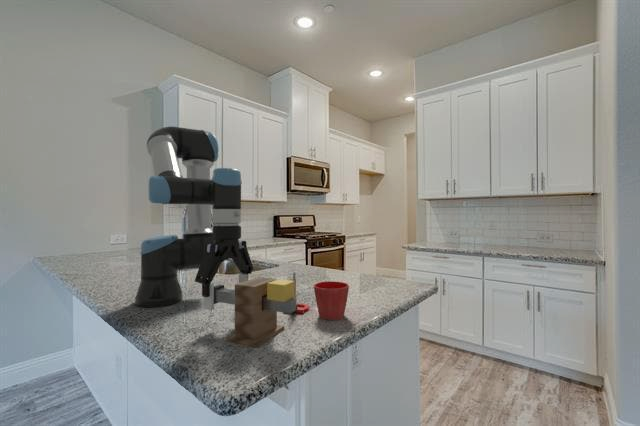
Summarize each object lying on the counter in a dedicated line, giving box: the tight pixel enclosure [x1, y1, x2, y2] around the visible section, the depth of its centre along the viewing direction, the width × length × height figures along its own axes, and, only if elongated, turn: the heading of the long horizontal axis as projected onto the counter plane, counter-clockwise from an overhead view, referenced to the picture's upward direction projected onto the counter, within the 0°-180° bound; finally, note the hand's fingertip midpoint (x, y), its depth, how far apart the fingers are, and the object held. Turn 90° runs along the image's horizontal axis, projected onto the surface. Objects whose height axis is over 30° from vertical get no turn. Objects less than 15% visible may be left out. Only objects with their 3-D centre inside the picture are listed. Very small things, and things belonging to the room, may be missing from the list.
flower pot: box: [313, 280, 350, 321], centre depth 95 cm, size 11×11×10 cm
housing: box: [225, 276, 285, 348], centre depth 81 cm, size 9×13×14 cm
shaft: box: [214, 284, 297, 314], centre depth 81 cm, size 26×4×4 cm, turn 65°
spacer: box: [267, 278, 295, 302], centre depth 77 cm, size 5×5×4 cm
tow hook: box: [291, 272, 310, 315], centre depth 102 cm, size 8×13×9 cm
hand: (227, 302), depth 84 cm, fingers open, 13 cm apart
